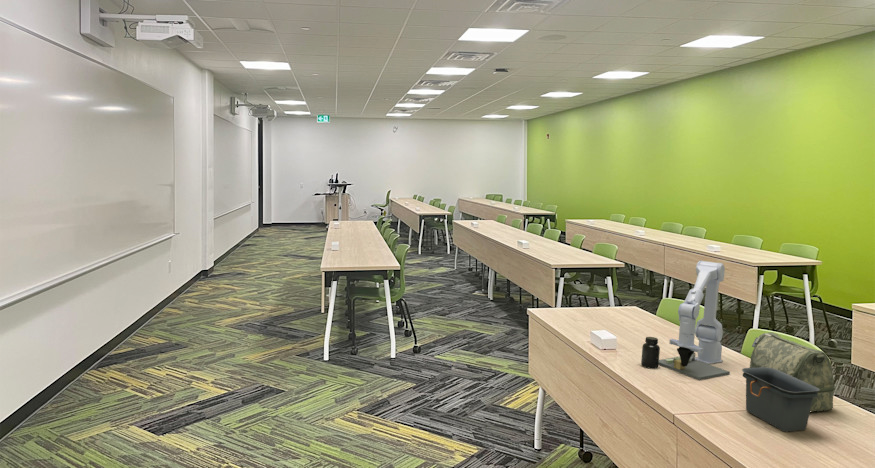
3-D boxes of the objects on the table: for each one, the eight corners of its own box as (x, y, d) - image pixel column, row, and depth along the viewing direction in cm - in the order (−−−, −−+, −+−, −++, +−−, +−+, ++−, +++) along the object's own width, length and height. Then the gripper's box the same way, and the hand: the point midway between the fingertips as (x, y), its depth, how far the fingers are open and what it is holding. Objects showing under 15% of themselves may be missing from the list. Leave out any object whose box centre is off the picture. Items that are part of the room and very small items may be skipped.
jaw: (688, 357, 242) (689, 353, 242) (693, 358, 241) (693, 354, 240) (672, 362, 234) (673, 358, 234) (677, 363, 232) (677, 359, 232)
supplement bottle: (659, 369, 232) (662, 341, 231) (642, 368, 234) (644, 339, 233) (656, 364, 239) (658, 336, 238) (639, 362, 240) (641, 335, 239)
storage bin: (821, 434, 176) (825, 389, 174) (778, 437, 172) (783, 391, 171) (767, 407, 196) (770, 366, 195) (728, 409, 193) (732, 368, 191)
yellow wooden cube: (678, 366, 233) (679, 359, 233) (685, 368, 230) (685, 361, 230) (673, 367, 232) (674, 360, 231) (679, 369, 229) (680, 362, 229)
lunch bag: (738, 387, 215) (743, 330, 213) (781, 385, 218) (786, 330, 216) (792, 415, 190) (798, 351, 188) (839, 413, 193) (846, 350, 191)
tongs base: (683, 358, 249) (684, 348, 248) (729, 374, 229) (730, 363, 229) (654, 363, 240) (655, 352, 240) (699, 380, 221) (700, 368, 221)
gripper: (665, 329, 232) (662, 361, 233) (695, 338, 219) (693, 372, 221) (677, 327, 235) (674, 359, 237) (707, 337, 223) (705, 370, 224)
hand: (684, 366), depth 229 cm, fingers closed
